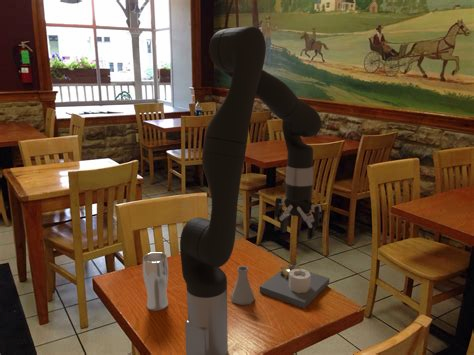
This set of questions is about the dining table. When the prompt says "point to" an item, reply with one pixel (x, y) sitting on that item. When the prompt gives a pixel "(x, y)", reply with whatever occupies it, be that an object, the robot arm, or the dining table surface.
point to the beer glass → (156, 280)
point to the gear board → (281, 291)
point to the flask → (242, 288)
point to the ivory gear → (299, 280)
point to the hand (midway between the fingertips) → (297, 235)
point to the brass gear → (288, 270)
